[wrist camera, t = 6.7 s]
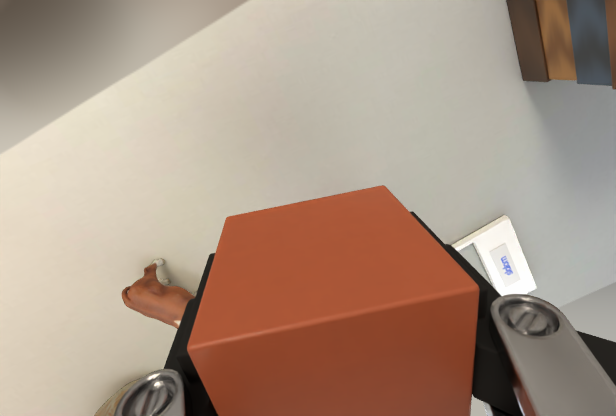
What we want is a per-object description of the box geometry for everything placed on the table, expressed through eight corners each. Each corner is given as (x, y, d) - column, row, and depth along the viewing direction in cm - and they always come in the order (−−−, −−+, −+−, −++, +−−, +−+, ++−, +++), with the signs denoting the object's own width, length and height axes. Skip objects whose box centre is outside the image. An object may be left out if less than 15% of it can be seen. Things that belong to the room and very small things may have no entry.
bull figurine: (223, 316, 45) (214, 365, 38) (135, 270, 41) (105, 315, 33) (241, 296, 44) (235, 343, 37) (153, 246, 39) (125, 288, 32)
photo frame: (537, 288, 48) (431, 344, 50) (532, 284, 49) (428, 339, 51) (510, 218, 42) (391, 285, 44) (504, 214, 43) (389, 280, 45)
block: (225, 216, 10) (184, 349, 5) (384, 184, 10) (482, 286, 5) (263, 333, 12) (257, 502, 7) (393, 306, 12) (469, 455, 7)
